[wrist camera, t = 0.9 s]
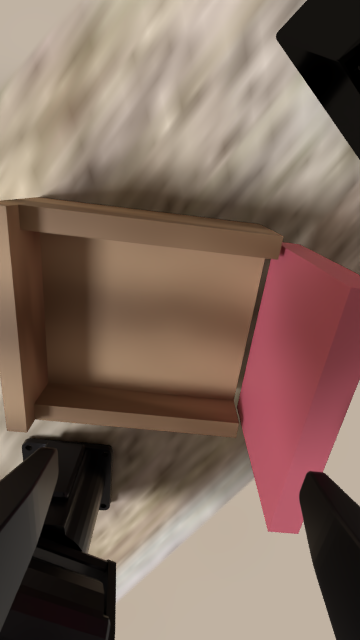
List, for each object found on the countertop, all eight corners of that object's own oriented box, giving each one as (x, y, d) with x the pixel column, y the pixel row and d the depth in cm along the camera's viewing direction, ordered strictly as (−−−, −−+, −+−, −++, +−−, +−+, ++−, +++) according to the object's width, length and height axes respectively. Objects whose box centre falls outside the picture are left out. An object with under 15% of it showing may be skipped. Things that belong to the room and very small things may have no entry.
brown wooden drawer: (225, 389, 22) (238, 451, 17) (48, 372, 21) (7, 430, 16) (259, 223, 18) (291, 240, 12) (38, 197, 17) (-22, 202, 12)
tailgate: (275, 241, 15) (350, 287, 9) (315, 246, 16) (422, 295, 9) (236, 407, 19) (268, 531, 12) (269, 410, 19) (318, 535, 13)
